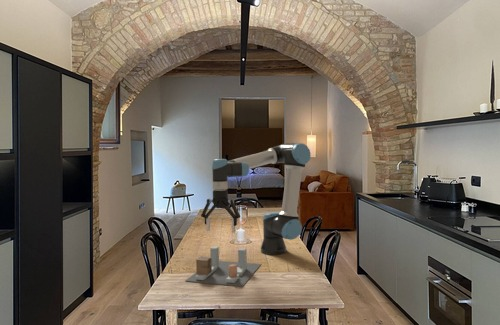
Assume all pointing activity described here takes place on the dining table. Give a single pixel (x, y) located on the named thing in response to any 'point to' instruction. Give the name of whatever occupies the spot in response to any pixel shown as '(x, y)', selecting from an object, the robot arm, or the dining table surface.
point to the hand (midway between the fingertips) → (220, 231)
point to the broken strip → (239, 265)
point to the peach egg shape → (232, 270)
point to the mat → (226, 275)
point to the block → (204, 265)
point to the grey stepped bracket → (215, 262)
